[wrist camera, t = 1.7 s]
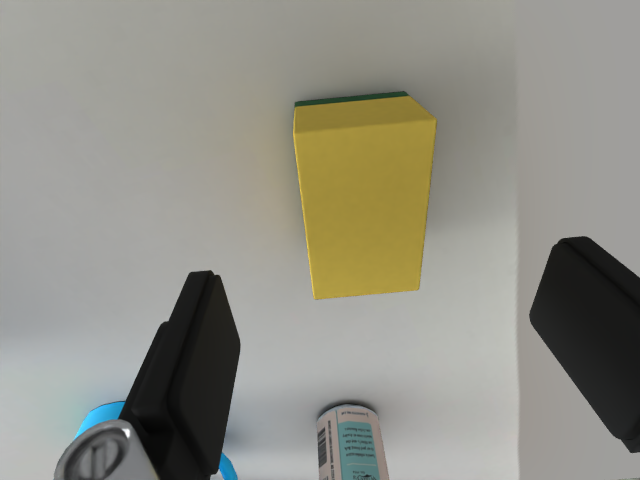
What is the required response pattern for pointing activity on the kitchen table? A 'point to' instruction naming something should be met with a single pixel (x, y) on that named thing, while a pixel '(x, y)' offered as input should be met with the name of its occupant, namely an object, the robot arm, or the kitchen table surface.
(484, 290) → the kitchen table surface
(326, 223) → the sponge
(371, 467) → the beer can
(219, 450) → the robot arm
